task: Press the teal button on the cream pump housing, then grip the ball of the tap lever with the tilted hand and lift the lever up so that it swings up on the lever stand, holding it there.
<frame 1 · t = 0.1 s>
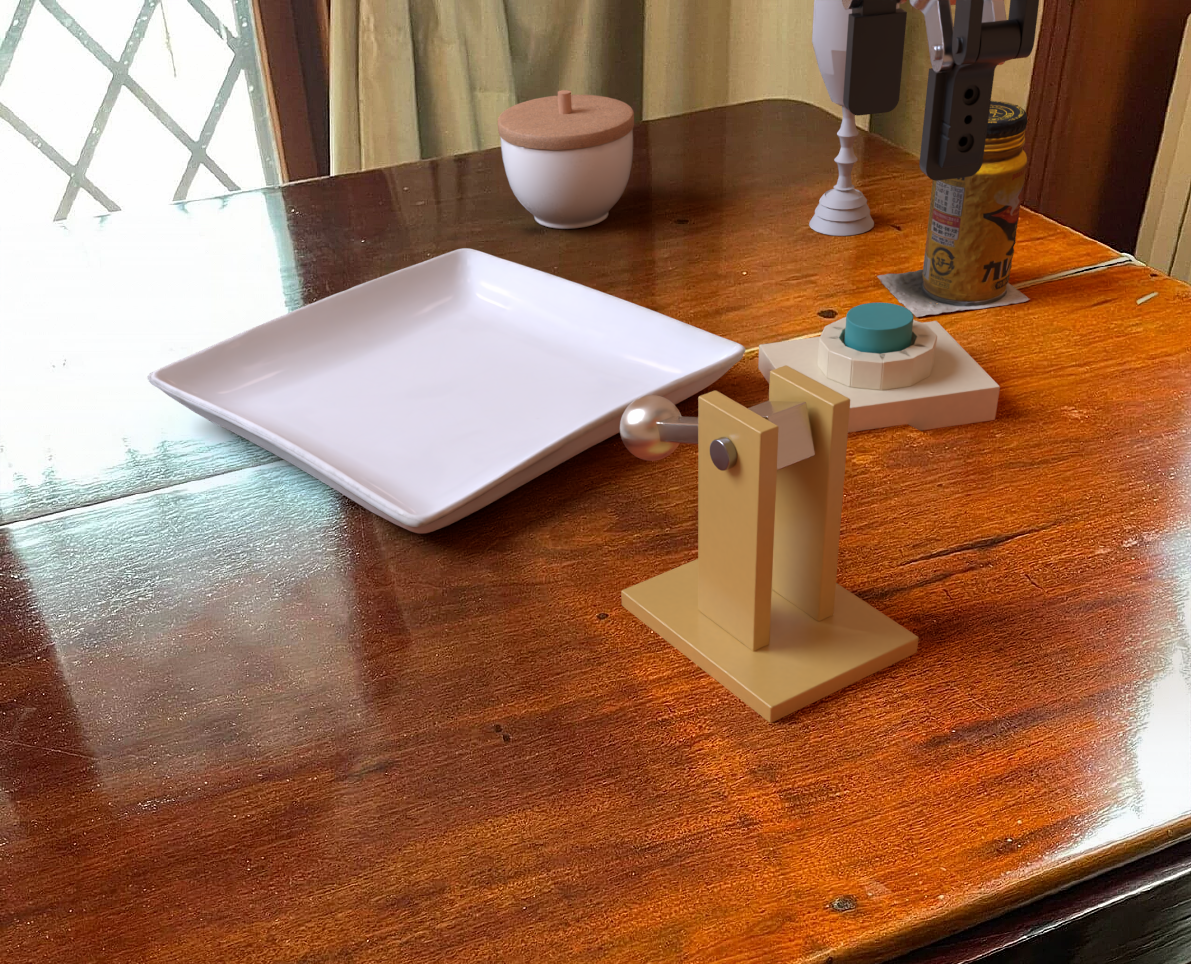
hand: (907, 141, 56), 23 cm above the table, tool pointing down, fingers open, 8 cm apart
condiment: (951, 294, 100), on the table
trinket box: (571, 217, 115), on the table
square plate: (451, 414, 90), on the table
tap lever: (707, 431, 67), point 9 cm above the table, hinge at -20.0°
pump housing: (872, 397, 88), on the table
lever stand: (764, 637, 70), on the table
chalice: (841, 226, 111), on the table
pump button: (878, 329, 85), point 4 cm above the table, slide at 0.1 cm
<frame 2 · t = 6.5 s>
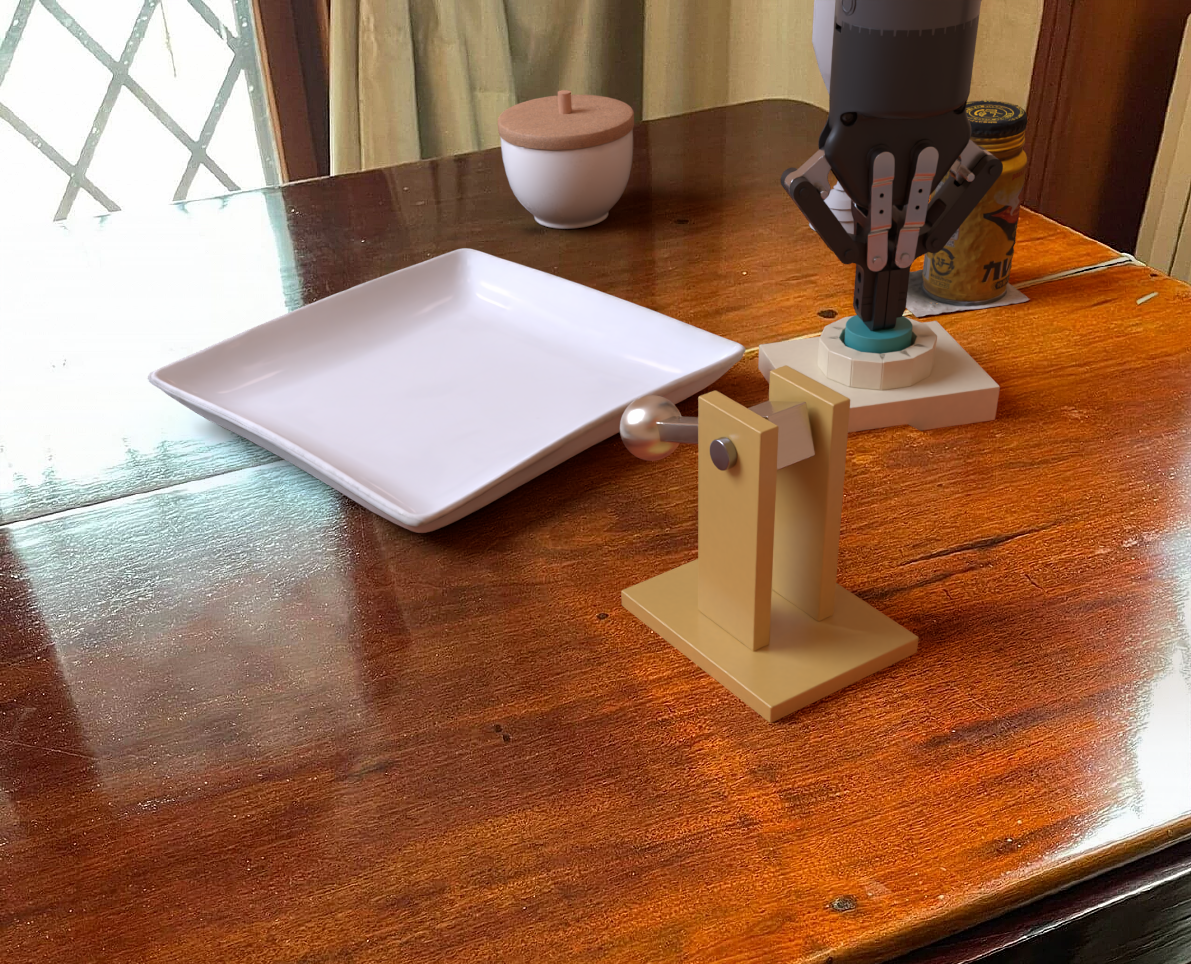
hand: (877, 324, 85), 5 cm above the table, tool pointing down, fingers closed
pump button: (877, 338, 86), point 4 cm above the table, slide at -0.5 cm, touching gripper
everything else where it was.
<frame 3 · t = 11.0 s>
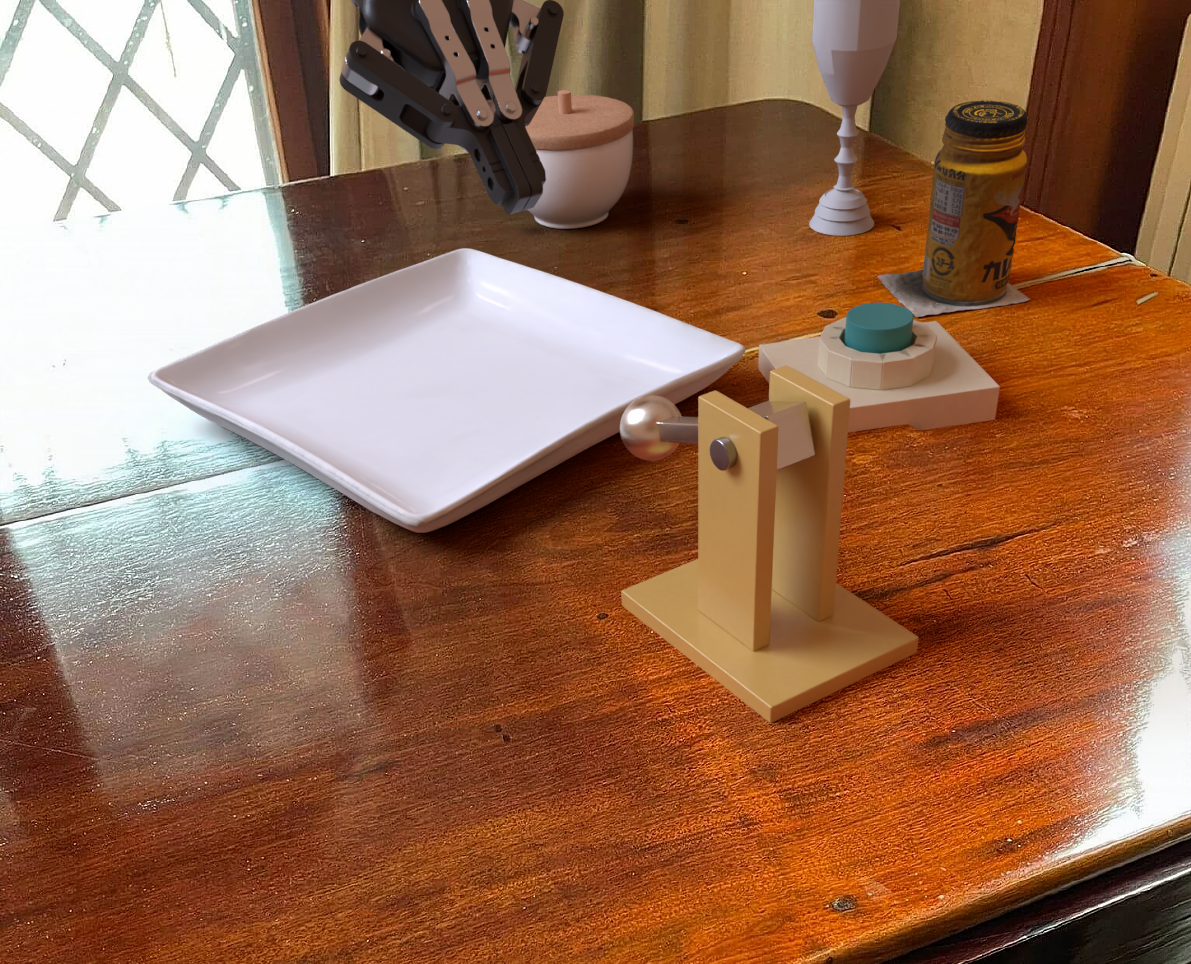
hand: (525, 203, 72), 16 cm above the table, tool tilted 45°, fingers closed
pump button: (878, 329, 85), point 4 cm above the table, slide at 0.1 cm
everything else where it was.
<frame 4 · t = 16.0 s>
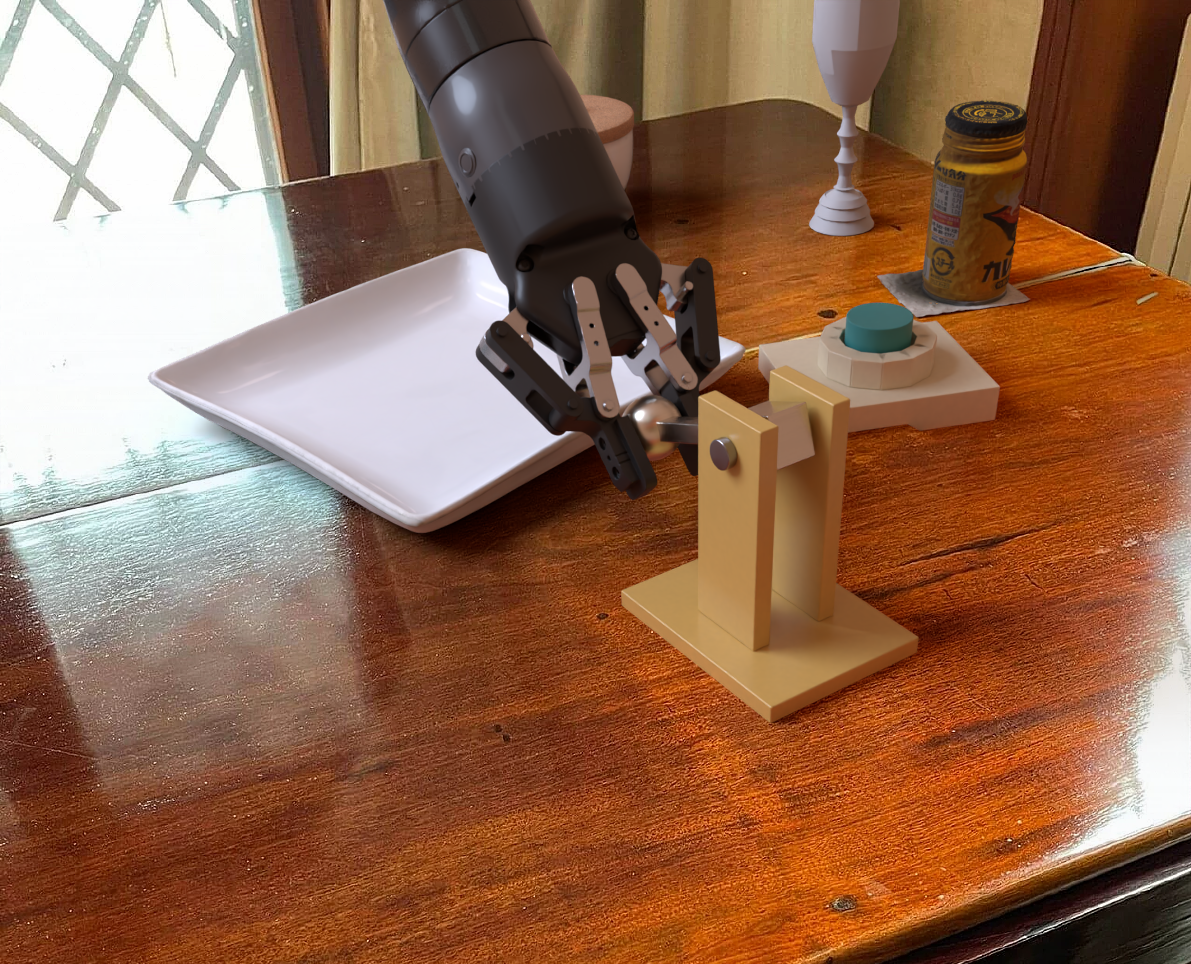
hand: (675, 479, 71), 6 cm above the table, tool tilted 45°, fingers closed on tap lever, 3 cm apart
tap lever: (707, 431, 67), point 9 cm above the table, hinge at -20.0°, touching gripper
everything else where it was.
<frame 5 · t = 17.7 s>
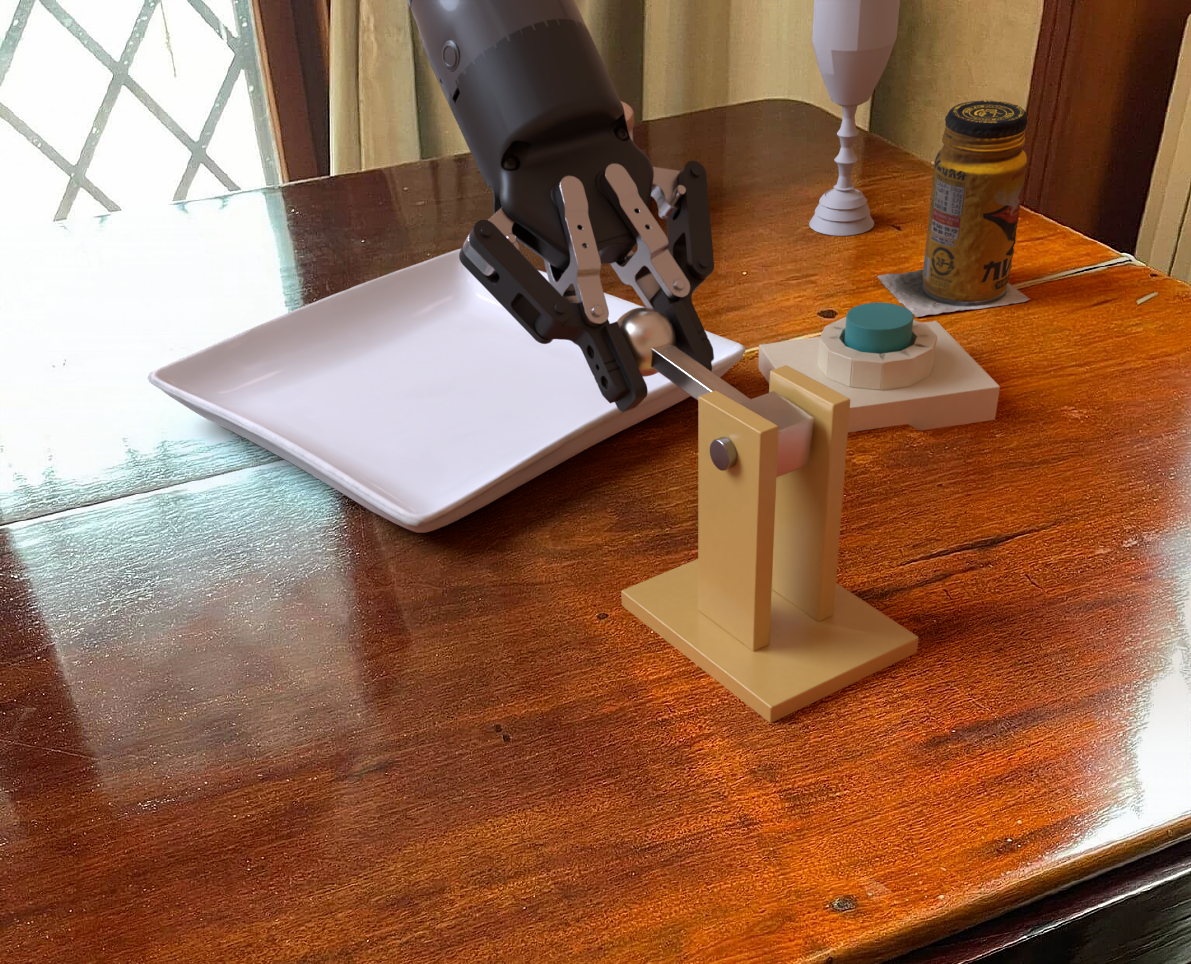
hand: (666, 390, 68), 10 cm above the table, tool tilted 45°, fingers closed on tap lever, 3 cm apart
tap lever: (703, 385, 65), point 11 cm above the table, hinge at 5.2°, touching gripper
everything else where it was.
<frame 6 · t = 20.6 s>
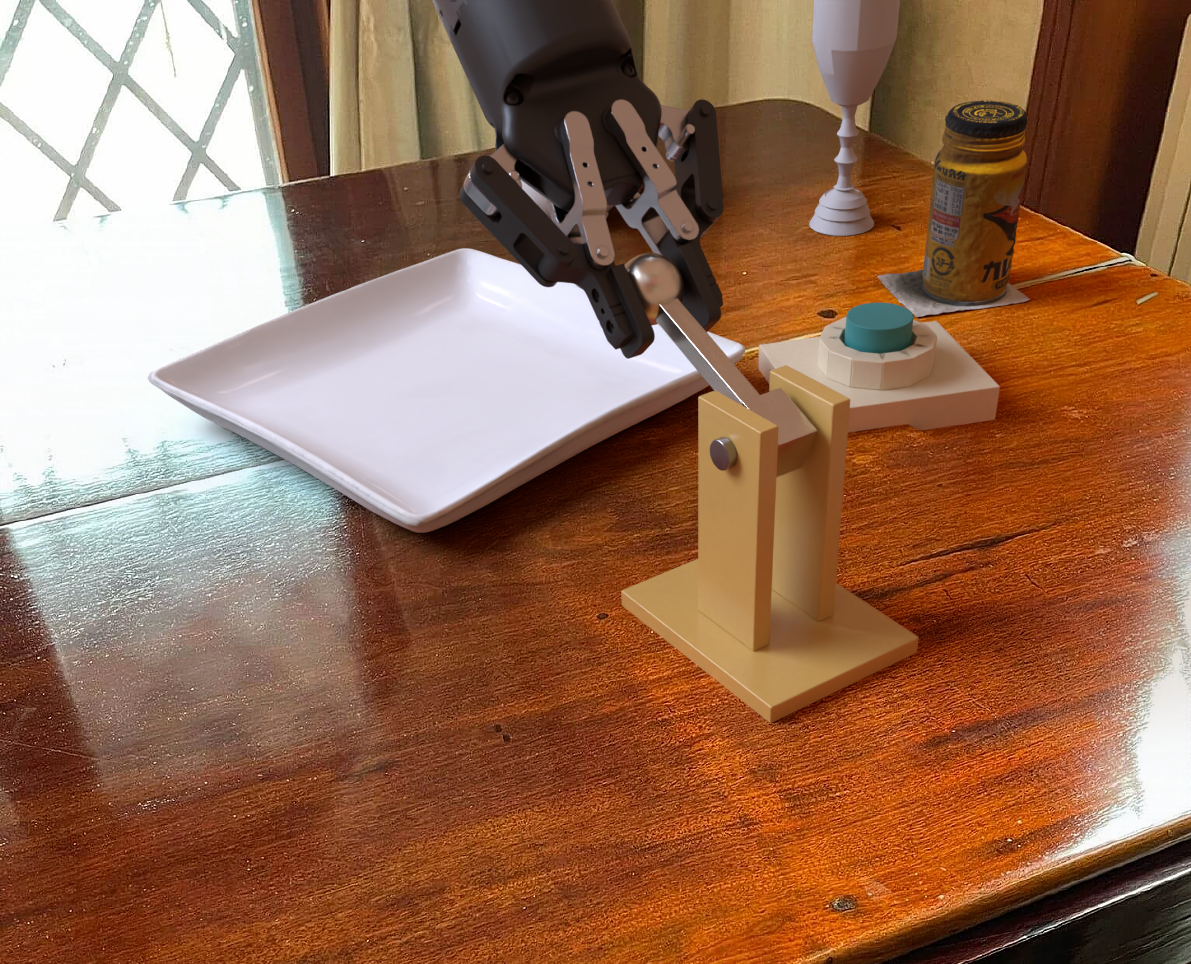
hand: (673, 337, 66), 13 cm above the table, tool tilted 45°, fingers closed on tap lever, 3 cm apart
tap lever: (708, 358, 64), point 13 cm above the table, hinge at 21.7°, touching gripper
everything else where it was.
at the end: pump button pushed in 1.1 cm at the most during the clip, back to where it started at the end; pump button slide at 0.1 cm; tap lever at +22° (first picture: -20°) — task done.
